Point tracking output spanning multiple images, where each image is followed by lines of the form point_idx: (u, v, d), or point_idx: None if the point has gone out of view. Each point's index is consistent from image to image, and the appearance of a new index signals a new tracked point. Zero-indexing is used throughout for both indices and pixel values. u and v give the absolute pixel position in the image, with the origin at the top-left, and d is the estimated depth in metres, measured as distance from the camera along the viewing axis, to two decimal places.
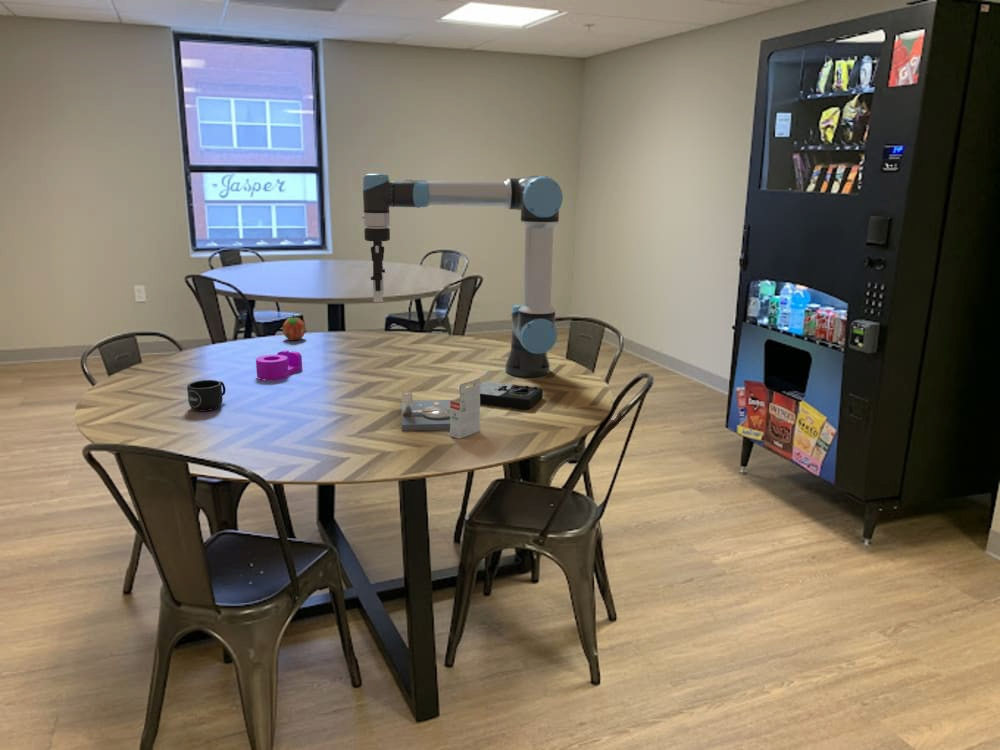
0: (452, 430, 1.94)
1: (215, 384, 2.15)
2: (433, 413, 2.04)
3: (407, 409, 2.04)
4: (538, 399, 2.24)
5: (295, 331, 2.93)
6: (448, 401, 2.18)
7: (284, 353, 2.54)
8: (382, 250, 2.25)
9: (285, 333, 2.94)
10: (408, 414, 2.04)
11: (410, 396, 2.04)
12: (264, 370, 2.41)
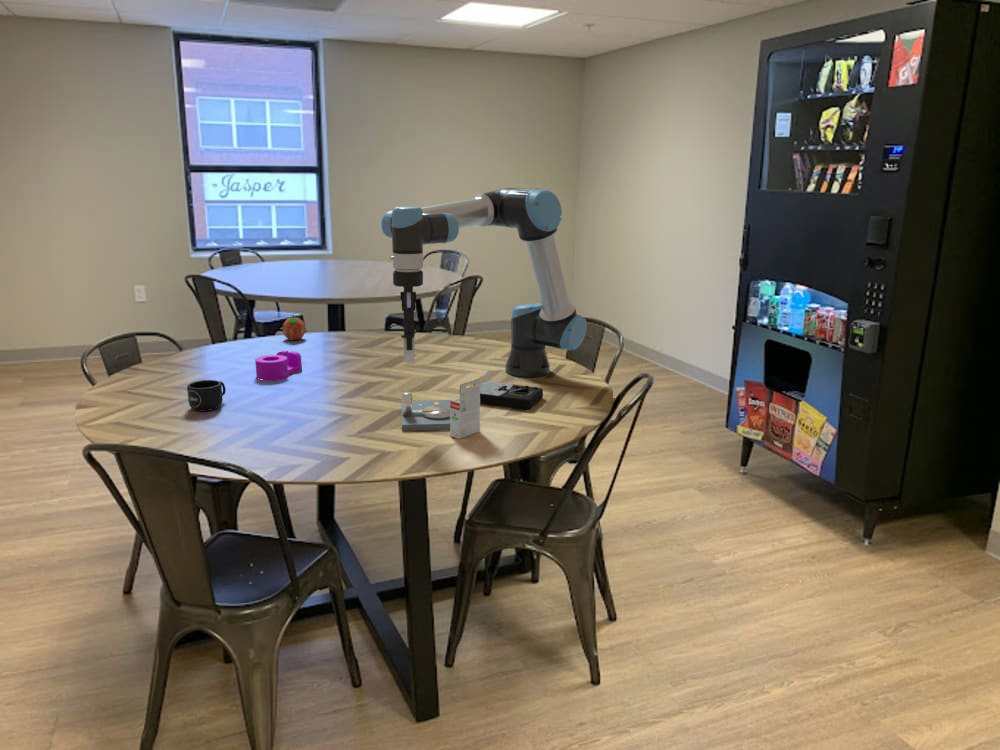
0: (452, 430, 1.94)
1: (215, 384, 2.15)
2: (433, 413, 2.04)
3: (407, 409, 2.04)
4: (538, 399, 2.24)
5: (295, 331, 2.93)
6: (448, 401, 2.18)
7: (283, 353, 2.53)
8: (414, 299, 1.90)
9: (285, 333, 2.94)
10: (408, 414, 2.04)
11: (410, 396, 2.04)
12: (264, 370, 2.41)
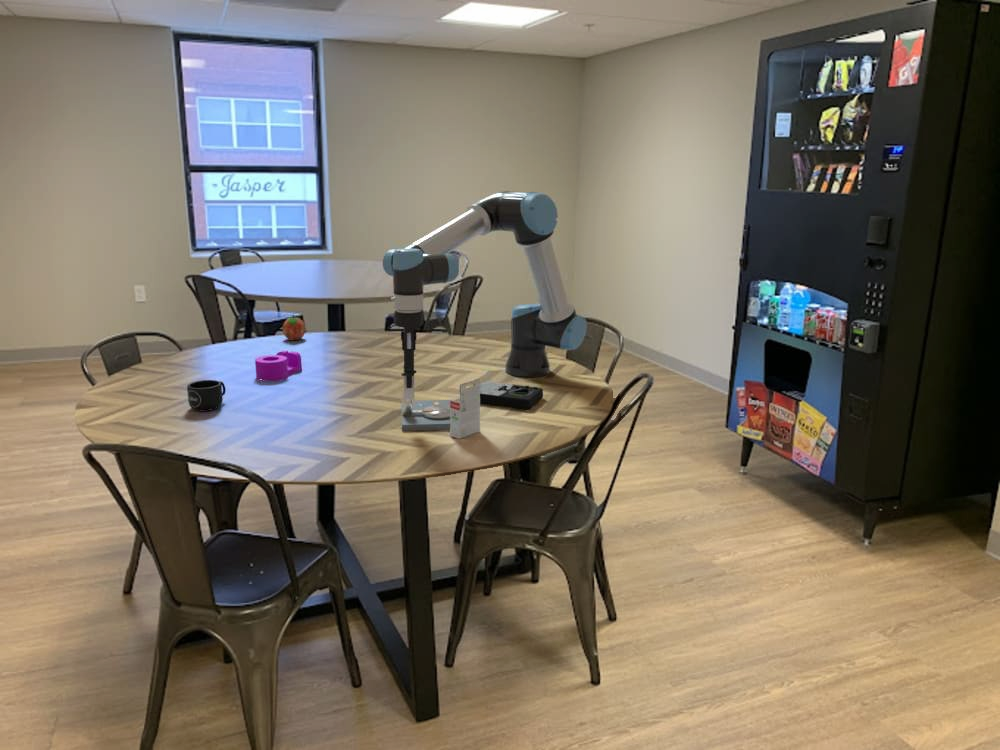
0: (452, 430, 1.94)
1: (215, 384, 2.15)
2: (433, 413, 2.04)
3: (407, 409, 2.04)
4: (538, 399, 2.24)
5: (295, 331, 2.93)
6: (448, 401, 2.18)
7: (283, 353, 2.53)
8: (414, 339, 1.93)
9: (285, 333, 2.94)
10: (408, 414, 2.04)
11: None
12: (264, 370, 2.41)
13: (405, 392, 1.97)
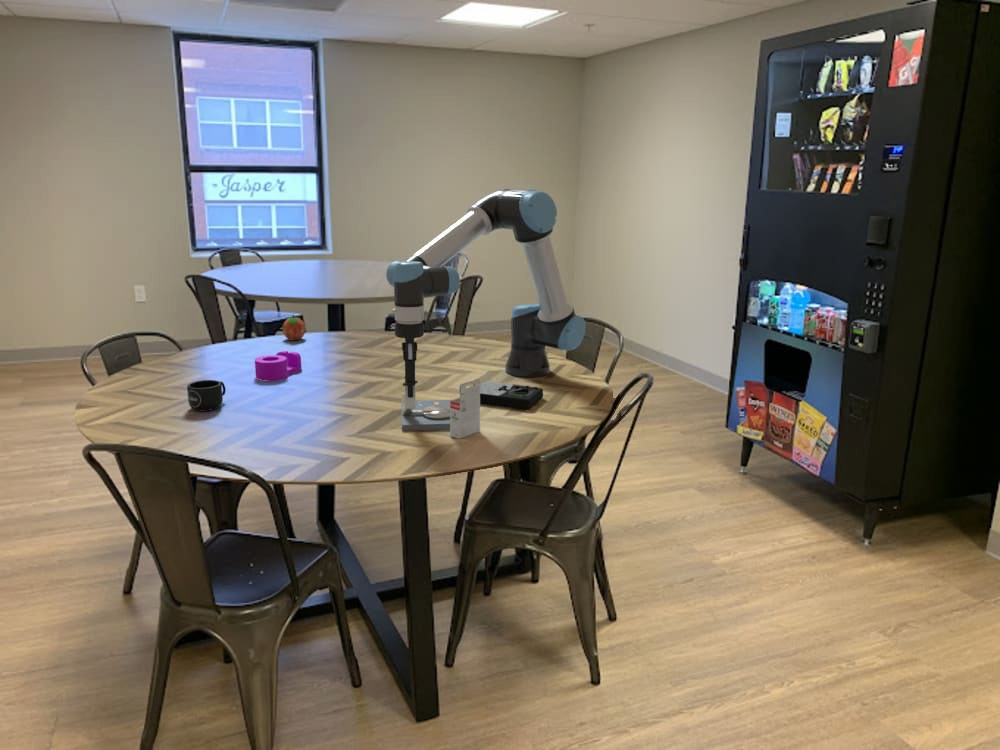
0: (452, 430, 1.94)
1: (215, 384, 2.15)
2: (432, 413, 2.04)
3: None
4: (538, 399, 2.24)
5: (295, 331, 2.93)
6: (448, 401, 2.18)
7: (283, 353, 2.53)
8: (415, 350, 1.97)
9: (285, 333, 2.94)
10: (408, 414, 2.05)
11: None
12: (263, 370, 2.40)
13: (406, 401, 2.02)
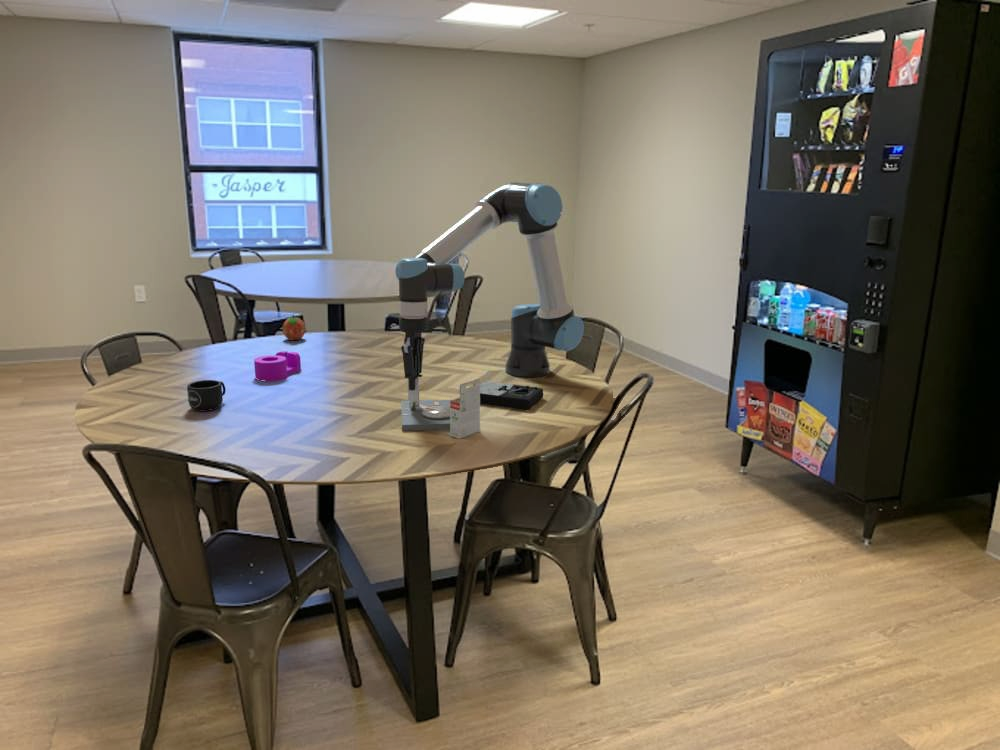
0: (452, 430, 1.94)
1: (215, 384, 2.15)
2: (428, 412, 2.06)
3: (411, 402, 2.10)
4: (538, 399, 2.24)
5: (295, 331, 2.93)
6: (448, 401, 2.18)
7: (283, 354, 2.53)
8: (416, 344, 2.03)
9: (285, 333, 2.94)
10: (412, 407, 2.10)
11: None
12: (263, 371, 2.40)
13: (409, 394, 2.08)
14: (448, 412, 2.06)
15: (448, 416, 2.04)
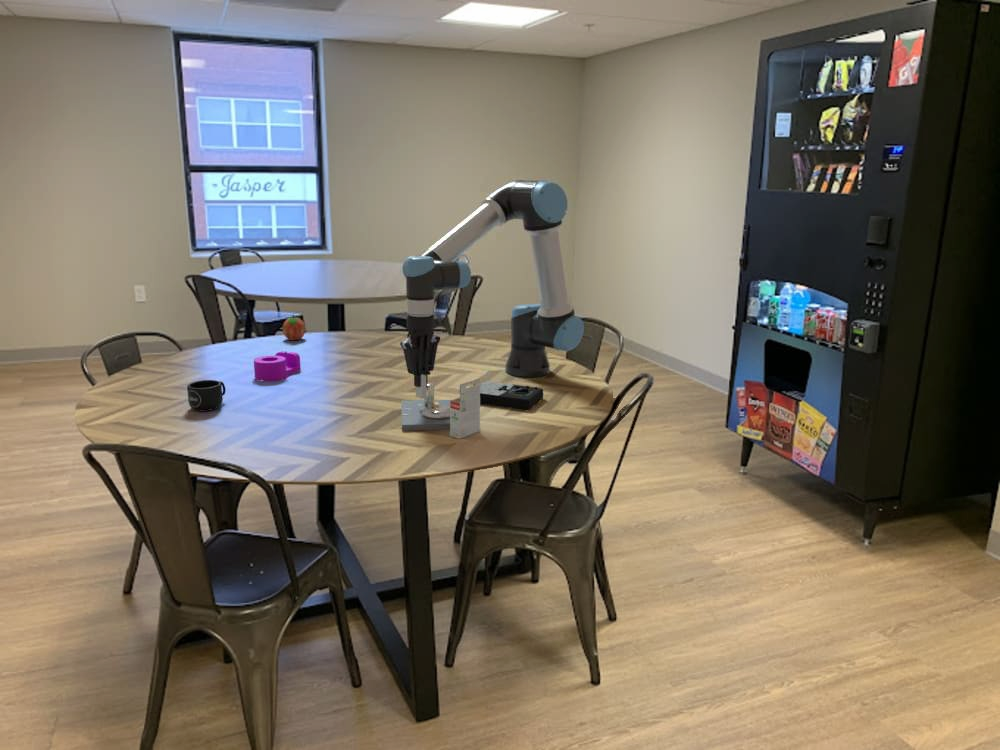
0: (452, 430, 1.94)
1: (215, 384, 2.15)
2: (427, 410, 2.07)
3: (424, 398, 2.13)
4: (538, 399, 2.24)
5: (295, 331, 2.93)
6: (448, 401, 2.18)
7: (282, 354, 2.53)
8: (419, 341, 2.05)
9: (285, 333, 2.94)
10: (425, 404, 2.14)
11: (426, 387, 2.12)
12: (262, 371, 2.40)
13: (416, 390, 2.11)
14: (443, 414, 2.04)
15: (439, 417, 2.03)
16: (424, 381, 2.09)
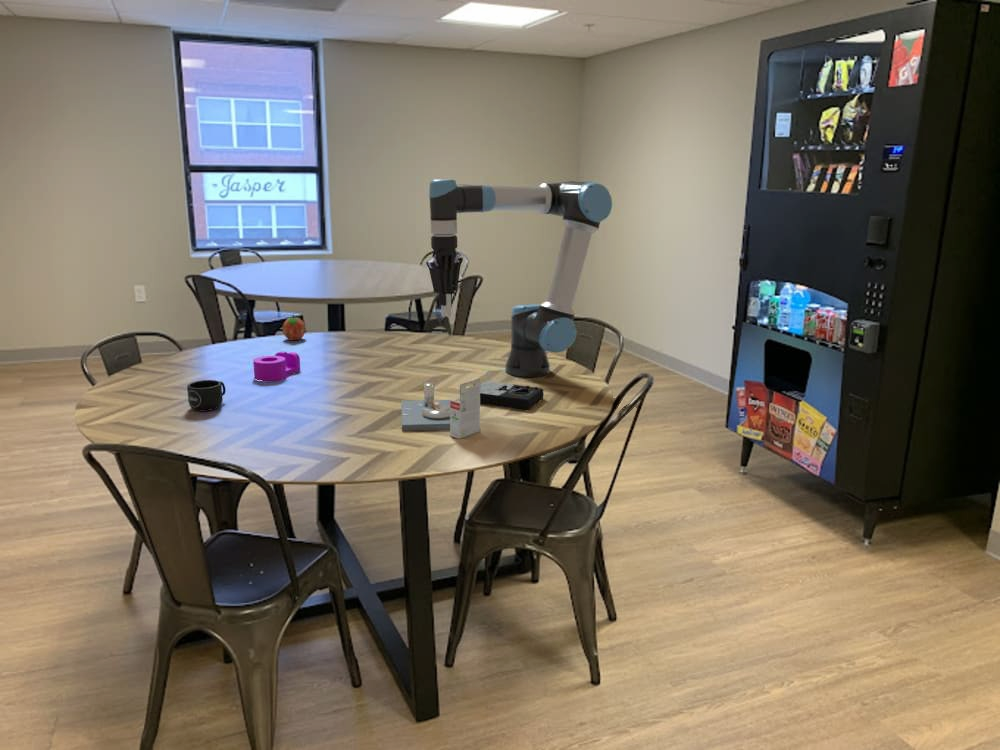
0: (452, 430, 1.94)
1: (215, 384, 2.15)
2: (427, 410, 2.07)
3: (424, 398, 2.13)
4: (538, 399, 2.24)
5: (295, 331, 2.93)
6: (448, 401, 2.18)
7: (282, 354, 2.52)
8: (443, 261, 2.16)
9: (285, 333, 2.94)
10: (425, 404, 2.14)
11: (426, 387, 2.12)
12: (262, 371, 2.40)
13: (442, 309, 2.22)
14: (443, 414, 2.04)
15: (439, 417, 2.03)
16: (449, 300, 2.21)
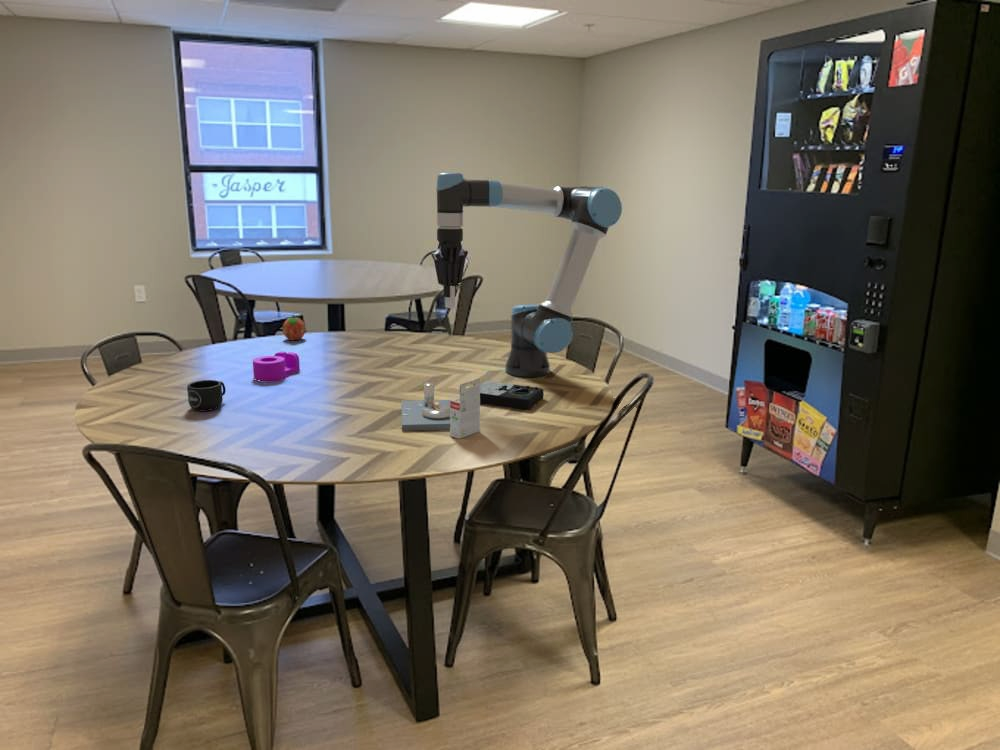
0: (452, 430, 1.94)
1: (215, 384, 2.15)
2: (427, 410, 2.07)
3: (424, 398, 2.13)
4: (538, 399, 2.24)
5: (295, 331, 2.93)
6: (448, 401, 2.18)
7: (281, 354, 2.52)
8: (448, 253, 2.19)
9: (285, 333, 2.94)
10: (425, 404, 2.14)
11: (426, 387, 2.12)
12: (261, 371, 2.39)
13: (446, 301, 2.25)
14: (443, 414, 2.04)
15: (439, 417, 2.03)
16: (453, 292, 2.24)
